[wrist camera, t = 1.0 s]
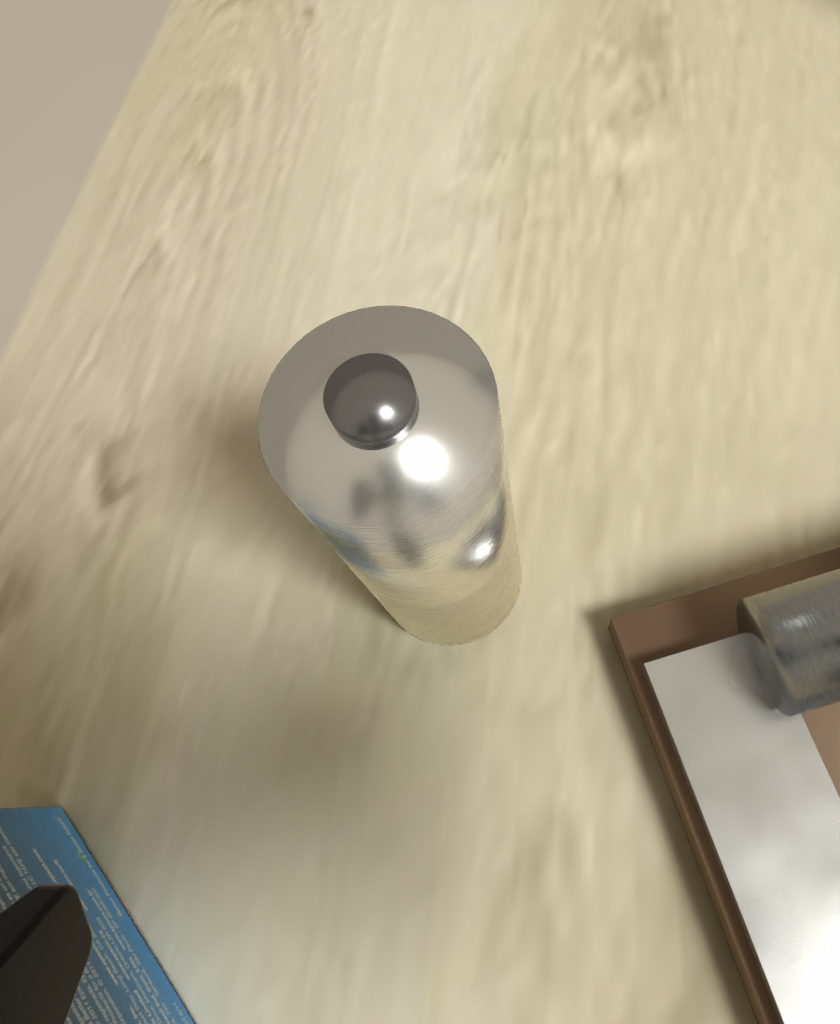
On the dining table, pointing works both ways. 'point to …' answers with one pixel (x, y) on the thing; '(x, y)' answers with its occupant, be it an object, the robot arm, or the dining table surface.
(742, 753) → the hinge leaves
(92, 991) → the ink cartridge box
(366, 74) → the dining table surface
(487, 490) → the hinge barrel
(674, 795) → the board
